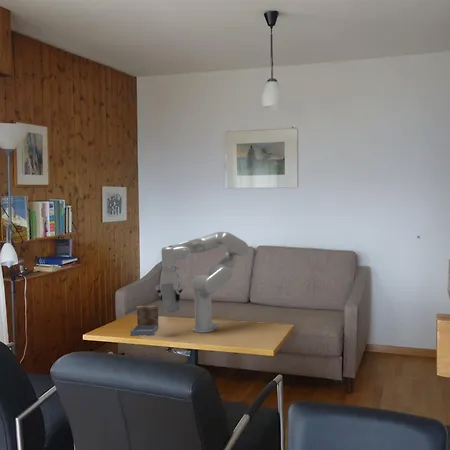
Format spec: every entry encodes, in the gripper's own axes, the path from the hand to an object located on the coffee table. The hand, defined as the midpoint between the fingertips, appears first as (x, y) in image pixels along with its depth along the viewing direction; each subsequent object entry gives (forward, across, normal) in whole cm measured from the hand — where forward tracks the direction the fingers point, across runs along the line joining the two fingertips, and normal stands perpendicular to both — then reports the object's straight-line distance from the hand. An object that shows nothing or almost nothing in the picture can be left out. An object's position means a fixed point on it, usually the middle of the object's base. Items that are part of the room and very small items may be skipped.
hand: (170, 301), depth 299 cm
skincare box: (+6, 0, 0) cm, 6 cm away
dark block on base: (+19, +17, -15) cm, 29 cm away
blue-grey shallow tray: (+19, +17, -6) cm, 26 cm away
